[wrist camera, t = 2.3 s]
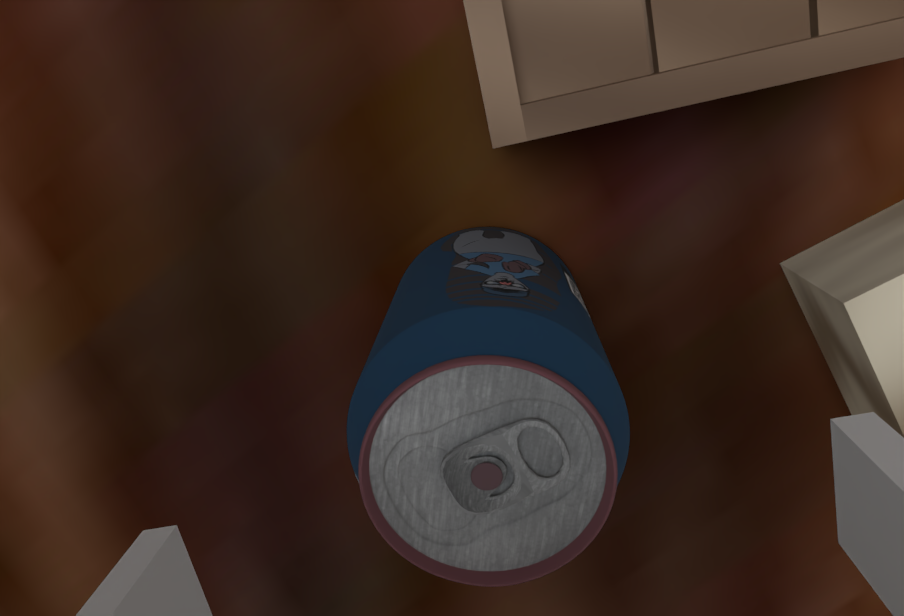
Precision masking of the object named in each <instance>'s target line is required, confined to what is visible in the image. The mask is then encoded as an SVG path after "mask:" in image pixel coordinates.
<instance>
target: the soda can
mask: <svg viewBox="0 0 904 616" xmlns="http://www.w3.org/2000/svg"><path fill="white" fill-rule="evenodd" d="M629 441H630V426H629V417H628V411H627V407H626V403H625V400H624V397H623V394H622V391H621V389H620V386H619V384H618V382H617V379H616V377H615V375H614V372H613V370H612V368H611V365H610V363H609V360H608V358H607V356H606V353H605V351H604V349H603V346H602V344H601V342H600V339H599V337H598V335H597V332H596V330H595V328H594V325H593V323H592V321H591V318H590V316H589V313H588V311H587V309H586V306H585V304H584V302H583V299H582V297H581V295H580V292H579V290H578V288H577V285H576V283H575V281H574V278H573V277H572V275H571V273H570V271H569V270H568V268H567V267H566V265H565V264H564V263H563V262H562V260H561V259H560V258H559V257H558V256H557V255H556V254H555V253H554V252H553V251H552V250H551V249H549V248H548V247H547V246H545V245H544V244H542V243H541V242H539V241H538V240H536V239H534V238H532V237H530V236H528V235H526V234H523V233H521V232H518V231H514V230H510V229H505V228H499V227H477V228H470V229H465V230H461V231H457V232H455V233H452V234H449V235H447V236H445V237H443V238H441V239H439V240H437V241H436V242H434V243H433V244H431V245H430V246H428V247H427V248H426V249H425V250H423V251H422V252H421V253H420V254H419V255H418V256H417V257H416V258H415V259H414V261H413V262H412V263H411V264H410V266H409V267H408V269H407V270H406V272H405V273H404V275H403V277H402V279H401V281H400V283H399V286H398V288H397V290H396V293H395V295H394V297H393V300H392V302H391V305H390V307H389V309H388V312H387V314H386V316H385V319H384V321H383V323H382V326H381V328H380V331H379V333H378V335H377V338H376V340H375V342H374V345H373V347H372V349H371V352H370V354H369V357H368V359H367V361H366V364H365V366H364V368H363V371H362V373H361V375H360V378H359V380H358V383H357V385H356V387H355V390H354V393H353V396H352V398H351V402H350V406H349V411H348V418H347V443H348V451H349V456H350V460H351V463H352V467H353V470H354V472H355V475H356V478H357V480H358V482H359V486H360V491H361V496H362V499H363V503H364V505H365V508H366V511H367V513H368V515H369V517H370V519H371V521H372V522H373V524H374V526H375V527H376V529H377V530H378V532H379V533H380V534H381V536H382V537H383V538H384V539H385V541H386V542H387V543H388V544H389V545H390V546H391V547H392V548H393V549H394V550H395V551H396V552H397V553H399V554H400V555H401V556H402V557H404V558H405V559H406V560H408V561H409V562H411V563H412V564H414V565H415V566H417V567H419V568H421V569H422V570H424V571H427V572H429V573H431V574H433V575H436V576H438V577H441V578H444V579H447V580H450V581H454V582H458V583H463V584H468V585H475V586H488V587H497V586H509V585H515V584H520V583H524V582H527V581H531V580H534V579H537V578H539V577H542V576H544V575H546V574H549V573H551V572H553V571H555V570H557V569H559V568H560V567H562V566H564V565H565V564H567V563H568V562H570V561H571V560H572V559H574V558H575V557H576V556H578V555H579V554H580V553H581V552H582V551H583V550H584V549H585V548H586V547H587V546H588V545H589V544H590V543H591V542H592V541H593V540H594V538H595V537H596V536H597V534H598V533H599V532H600V530H601V528H602V527H603V525H604V523H605V522H606V520H607V518H608V516H609V513H610V511H611V508H612V505H613V502H614V499H615V494H616V489H617V485H618V483H619V481H620V479H621V476H622V474H623V471H624V468H625V465H626V461H627V456H628V450H629Z"/></svg>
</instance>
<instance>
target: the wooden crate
mask: <svg viewBox="0 0 904 616" xmlns="http://www.w3.org/2000/svg"><path fill="white" fill-rule="evenodd" d="M463 2H464V7H465V12H466V17H467V22H468V27H469V32H470V37H471V42H472V47H473V52H474V57H475V62H476V67H477V72H478V77H479V82H480V87H481V92H482V97H483V102H484V107H485V112H486V117H487V122H488V127H489V132H490V137H491V142H492V147H493V149H494V148H498V147H503V146H507V145H512V144H516V143H521V142H525V141H530V140H534V139H539V138H543V137H548V136H552V135H557V134H561V133H566V132H570V131H575V130H579V129H584V128H588V127H593V126H597V125H602V124H606V123H611V122H615V121H620V120H624V119H629V118H633V117H638V116H642V115H647V114H651V113H656V112H660V111H665V110H669V109H674V108H678V107H683V106H687V105H692V104H696V103H701V102H705V101H710V100H714V99H719V98H723V97H728V96H732V95H737V94H741V93H746V92H750V91H755V90H759V89H764V88H768V87H773V86H777V85H782V84H786V83H791V82H795V81H800V80H804V79H809V78H813V77H818V76H822V75H827V74H831V73H836V72H840V71H845V70H849V69H854V68H858V67H863V66H867V65H872V64H876V63H881V62H885V61H890V60H894V59H899V58H903V57H904V0H463Z"/></svg>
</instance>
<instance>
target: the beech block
mask: <svg viewBox="0 0 904 616" xmlns="http://www.w3.org/2000/svg"><path fill="white" fill-rule="evenodd" d="M780 265H781V267H782V269H783V271H784V273H785V275H786V278H787V280H788V282H789V284H790V286H791V288H792V290H793V292H794V294H795V297H796V299H797V301H798V303H799V305H800V307H801V309H802V311H803V313H804V315H805V318H806V320H807V322H808V324H809V326H810V328H811V330H812V332H813V334H814V337H815V339H816V341H817V343H818V345H819V347H820V349H821V351H822V353H823V356H824V358H825V360H826V362H827V364H828V366H829V368H830V370H831V372H832V374H833V377H834V379H835V381H836V383H837V385H838V387H839V389H840V391H841V393H842V396H843V398H844V400H845V402H846V404H847V406H848V408H849V410H850V412H851V415H857V414H864V413H870V412H874V413H875V414H877V415H878V416H879V417H880V418H881V419H882V420H884V421H885V422H886V423H887V424H888V425H889V426H890V427H892V428H893V429H894V430H895V431H896V432H897V433H899V434H900V435H901V436H902V437H903V438H904V200H902V201H900V202H898V203H896V204H894V205H892V206H890V207H889V208H887V209H885V210H883V211H881V212H879V213H877V214H875V215H873V216H871V217H869V218H867V219H865V220H863V221H861V222H859V223H857V224H855V225H853V226H852V227H850V228H848V229H846V230H844V231H842V232H840V233H838V234H836V235H834V236H832V237H830V238H828V239H826V240H824V241H822V242H820V243H818V244H816V245H815V246H813V247H811V248H809V249H807V250H805V251H803V252H801V253H799V254H797V255H795V256H793V257H791V258H789V259H787V260H785V261H783V262H781V263H780Z"/></svg>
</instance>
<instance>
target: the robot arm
mask: <svg viewBox="0 0 904 616" xmlns="http://www.w3.org/2000/svg"><path fill="white" fill-rule="evenodd" d="M830 423H831V438H832V453H833V468H834V484H835V499H836V514H837V530H838V543H839V544H840V546H841V547H842V548H843V549H844V551H845V552H846V553H847V555H848V556H849V557H850V559H851V560H852V561H853V563H854V564H855V565H856V567H857V568H858V569H859V571H860V572H861V573H862V575H863V576H864V577H865V579H866V580H867V581H868V583H869V584H870V585H871V587H872V588H873V589H874V591H875V592H876V593H877V595H878V596H879V597H880V599H881V600H882V601H883V603H884V604H885V605H886V607H887V608H888V609H889V611H890V612H891V613H892V615H893V616H904V438H903V437H902V436H901V435H900V434H899V433H897V432H896V431H895V430H894V429H893V428H892V427H890V426H889V425H888V424H887V423H886V422H885V421H884V420H882V419H881V418H880V417H879V416H878V415H877V414H875V413H874V412H870V413H864V414H857V415H851V416H845V417H839V418H833V419H830ZM76 616H212V613H211V611H210V608H209V605H208V603H207V600H206V598H205V595H204V593H203V590H202V588H201V585H200V583H199V580H198V578H197V575H196V573H195V570H194V568H193V565H192V562H191V560H190V557H189V555H188V552H187V550H186V547H185V545H184V542H183V540H182V537H181V535H180V532H179V530H178V527H177V525H174V526H168V527H162V528H156V529H149V530H143V531H142V533H141V534H140V535H139V536H138V538H137V539H136V540H135V541H134V543H133V544H132V545H131V546H130V548H129V549H128V550H127V551H126V553H125V554H124V555H123V557H122V558H121V559H120V560H119V562H118V563H117V564H116V565H115V567H114V568H113V569H112V570H111V572H110V573H109V574H108V575H107V577H106V578H105V579H104V581H103V582H102V583H101V584H100V586H99V587H98V588H97V589H96V591H95V592H94V593H93V594H92V596H91V597H90V598H89V599H88V601H87V602H86V603H85V605H84V606H83V607H82V608H81V610H80V611H79V612H78V613H77V615H76Z"/></svg>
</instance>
